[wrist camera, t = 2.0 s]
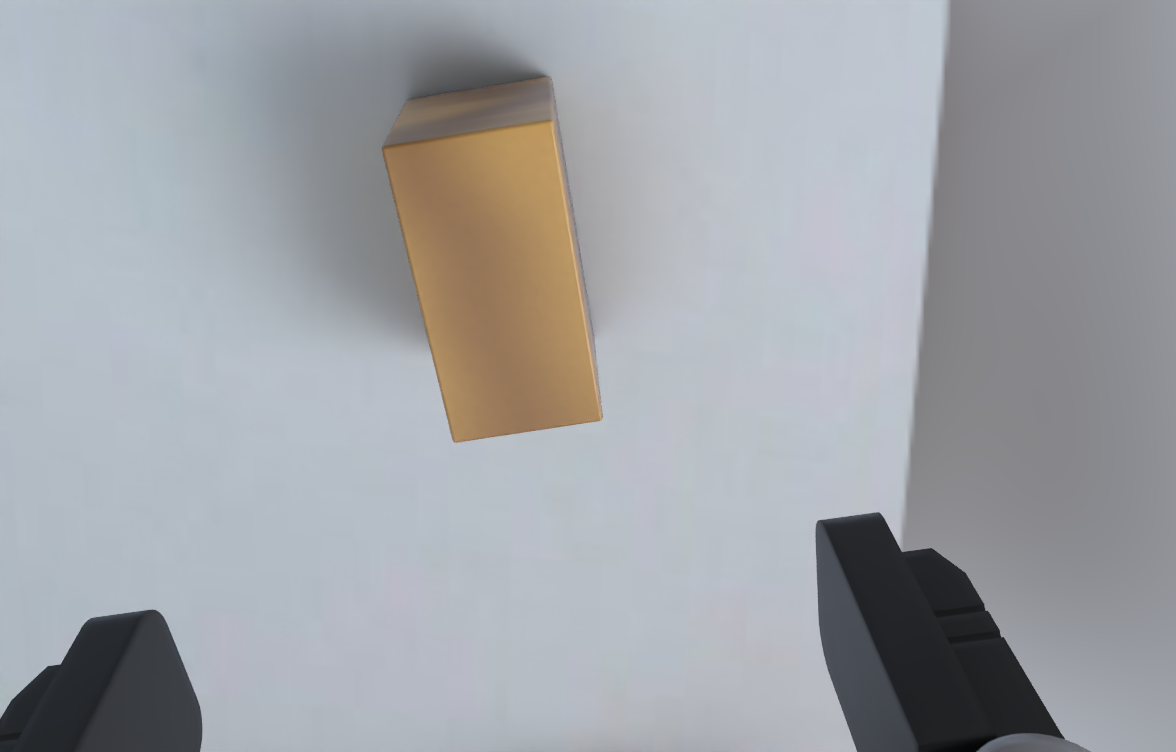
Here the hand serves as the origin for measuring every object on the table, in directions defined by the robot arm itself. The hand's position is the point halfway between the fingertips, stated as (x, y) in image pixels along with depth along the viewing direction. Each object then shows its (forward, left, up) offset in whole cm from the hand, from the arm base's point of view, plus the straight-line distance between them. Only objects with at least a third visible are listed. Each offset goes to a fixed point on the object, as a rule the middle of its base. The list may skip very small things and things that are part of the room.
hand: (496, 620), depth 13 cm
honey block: (+1, +1, -19) cm, 19 cm away
